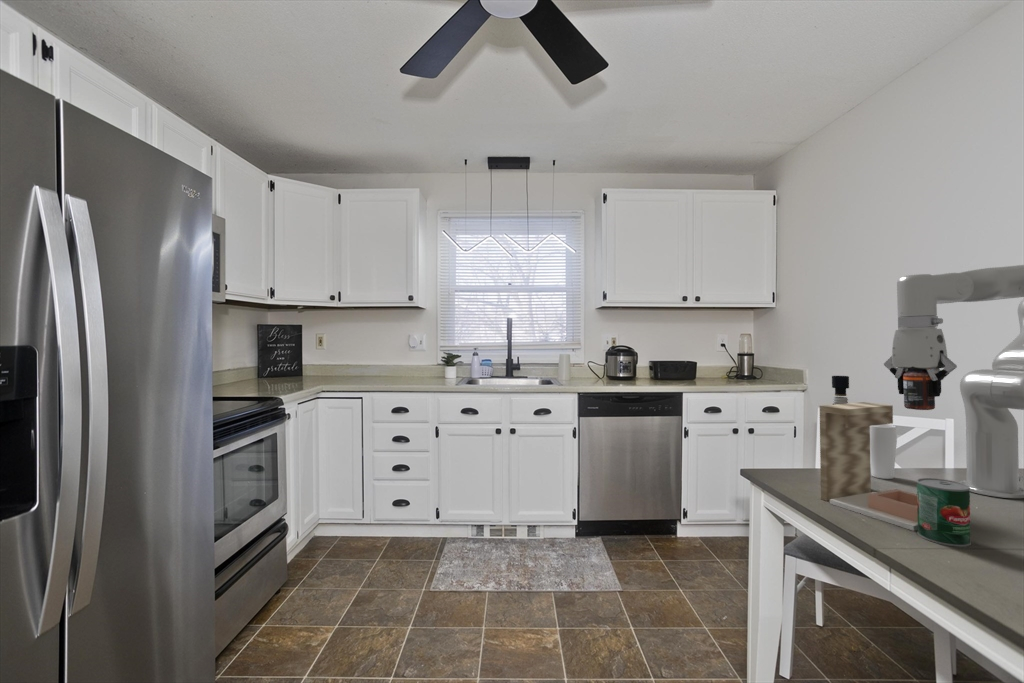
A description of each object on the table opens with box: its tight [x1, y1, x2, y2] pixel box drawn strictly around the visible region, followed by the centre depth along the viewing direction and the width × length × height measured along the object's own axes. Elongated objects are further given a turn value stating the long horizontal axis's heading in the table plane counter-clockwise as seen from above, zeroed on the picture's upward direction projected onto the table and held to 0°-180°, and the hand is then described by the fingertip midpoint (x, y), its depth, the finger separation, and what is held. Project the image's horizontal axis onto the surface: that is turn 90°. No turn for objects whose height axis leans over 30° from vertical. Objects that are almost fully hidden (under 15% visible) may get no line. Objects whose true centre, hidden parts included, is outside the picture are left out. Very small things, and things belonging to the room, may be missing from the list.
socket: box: [829, 488, 918, 532], centre depth 109 cm, size 16×18×4 cm
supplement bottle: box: [903, 366, 936, 411], centre depth 119 cm, size 6×6×11 cm
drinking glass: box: [870, 424, 898, 480], centre depth 136 cm, size 7×7×15 cm
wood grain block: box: [819, 401, 894, 502], centre depth 118 cm, size 16×7×24 cm, turn 110°
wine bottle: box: [831, 375, 850, 405], centre depth 129 cm, size 6×6×30 cm
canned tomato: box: [916, 477, 972, 548], centre depth 94 cm, size 8×8×11 cm
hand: (918, 394), depth 119 cm, fingers closed on supplement bottle, 6 cm apart
